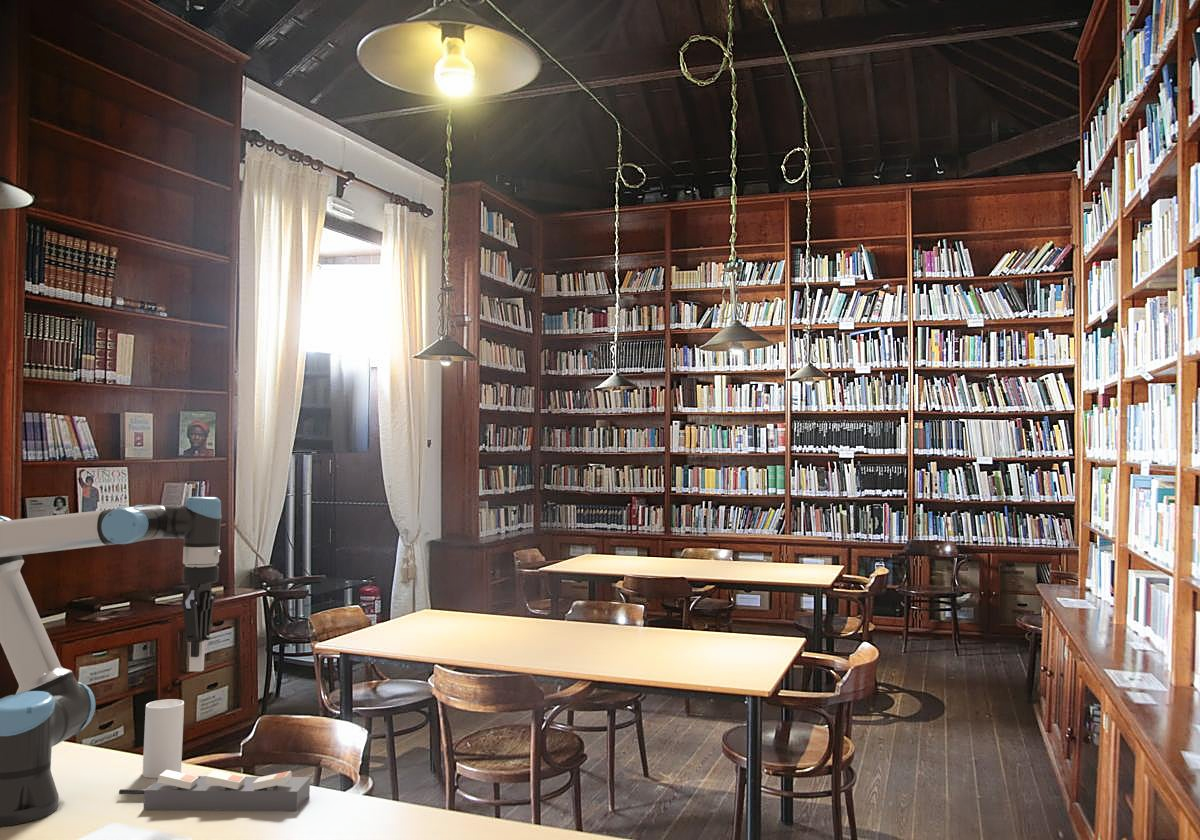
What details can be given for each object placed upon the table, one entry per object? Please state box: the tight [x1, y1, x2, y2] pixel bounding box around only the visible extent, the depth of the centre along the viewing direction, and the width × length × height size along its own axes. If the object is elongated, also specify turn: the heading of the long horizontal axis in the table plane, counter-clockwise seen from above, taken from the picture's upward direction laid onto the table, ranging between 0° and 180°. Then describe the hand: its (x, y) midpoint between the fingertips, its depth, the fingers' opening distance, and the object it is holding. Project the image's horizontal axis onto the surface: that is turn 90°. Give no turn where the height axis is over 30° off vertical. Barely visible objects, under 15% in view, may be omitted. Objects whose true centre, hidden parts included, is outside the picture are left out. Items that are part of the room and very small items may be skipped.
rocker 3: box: [253, 770, 293, 790], centre depth 191 cm, size 7×4×2 cm, turn 92°
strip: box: [118, 775, 311, 812], centre depth 193 cm, size 40×9×4 cm, turn 91°
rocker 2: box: [205, 770, 246, 790], centre depth 191 cm, size 7×4×2 cm, turn 91°
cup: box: [142, 698, 185, 779], centre depth 212 cm, size 8×8×16 cm
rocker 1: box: [157, 770, 199, 789], centre depth 191 cm, size 7×4×2 cm, turn 91°
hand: (196, 670), depth 201 cm, fingers closed
